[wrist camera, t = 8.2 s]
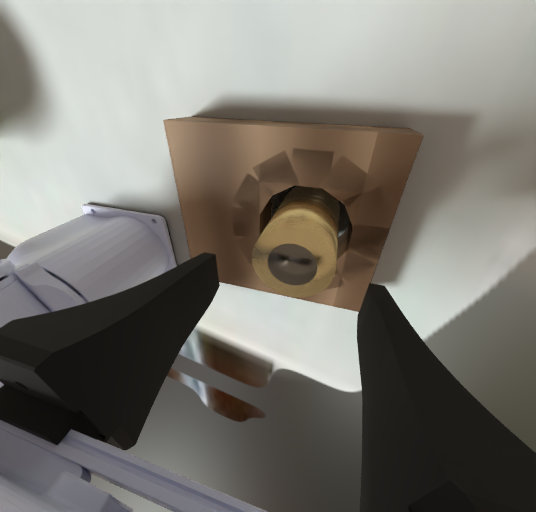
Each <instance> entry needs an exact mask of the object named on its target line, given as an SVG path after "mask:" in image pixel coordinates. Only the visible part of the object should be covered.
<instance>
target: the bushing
mask: <svg viewBox="0 0 536 512" xmlns="http://www.w3.org/2000/svg"><path fill="white" fill-rule="evenodd" d="M339 219H340V207H339V203H338V200H337V199H336V198H335V197H333V196H332V195H331V194H329V193H328V192H327V191H325V190H324V189H323V188H314V187H305V186H297V187H295V188H293V189H292V190H291V191H289V193H288V194H287V195H286V196H285V198H284V199H283V201H282V203H281V204H280V206H279V207H278V209H277V210H276V212H275V214H274V215H273V217H272V218H271V220H270V221H269V223H268V225H267V226H266V228H265V229H264V231H263V232H262V234H261V236H260V237H259V239H258V240H257V242H256V244H255V246H254V248H253V251H252V264H253V267H254V270H255V272H256V274H257V275H258V277H259V278H260V279H261V281H262V282H263V283H264V284H266V285H267V286H268V287H269V288H271V289H272V290H274V291H276V292H278V293H280V294H283V295H287V296H291V297H308V296H312V295H315V294H318V293H320V292H321V291H323V290H324V289H326V288H327V287H328V286H329V285H330V283H331V282H332V280H333V278H334V276H335V272H336V261H337V247H338V233H339Z"/></svg>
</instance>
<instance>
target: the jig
mask: <svg viewBox="0 0 536 512" xmlns="http://www.w3.org/2000/svg"><path fill="white" fill-rule="evenodd" d="M163 121H164V126H165V131H166V136H167V141H168V146H169V151H170V156H171V161H172V166H173V171H174V176H175V181H176V186H177V191H178V196H179V201H180V206H181V211H182V216H183V221H184V226H185V231H186V236H187V241H188V246H189V251H190V256H191V259H192V258H194V257H196V256H198V255H200V254H202V253H204V252H206V253H211V254H216V261H217V269H218V277H219V282H222V283H227V284H232V285H236V286H241V287H246V288H250V289H255V290H260V291H264V292H269V293H274V294H278V295H283V294H280V293H278V292H276V291H274V290H272V289H271V288H269V287H268V286H267V285H266V284H264V283H263V282H262V281H261V279H260V278H259V277H258V275H257V274H256V272H255V270H254V267H253V264H252V251H253V248H254V246H255V244H256V242H257V240H258V239H259V237H260V236H261V234H262V232H263V231H264V229H265V228H266V226H267V225H268V223H269V221H270V220H271V199H272V197H273V196H274V195H275V194H277V193H279V192H282V191H284V190H286V189H288V188H290V187H293V186H295V185H296V186H305V187H314V188H323V189H324V190H325V191H327V192H328V193H329V194H331V195H332V196H333V197H335V198H336V199H337V200H339V201H340V202H341V203H343V204H344V205H345V207H346V210H347V213H348V215H349V218H350V221H349V225H348V229H347V230H346V231H345V232H344V233H343V234H342V235H341V236H340V237H339V238H338V247H337V261H336V272H335V276H334V278H333V280H332V282H331V283H330V285H329V286H328V287H327V288H326V289H324V290H323V291H321V292H320V293H318V294H315V295H312V296H308V297H292V298H297V299H302V300H306V301H311V302H316V303H320V304H325V305H330V306H334V307H339V308H344V309H348V310H353V311H358V312H359V311H360V308H361V305H362V302H363V300H364V297H365V294H366V291H367V288H368V286H369V283H371V280H372V277H373V274H374V271H375V269H376V266H377V263H378V260H379V258H380V255H381V252H382V249H383V246H384V244H385V241H386V238H387V235H388V233H389V230H390V227H391V224H392V221H393V219H394V216H395V213H396V210H397V207H398V205H399V202H400V199H401V196H402V194H403V191H404V188H405V185H406V182H407V180H408V177H409V174H410V171H411V169H412V166H413V163H414V160H415V157H416V155H417V152H418V149H419V146H420V144H421V141H422V138H423V134H421V133H418V132H416V131H414V130H412V129H410V128H394V127H375V126H355V125H336V124H317V123H298V122H279V121H260V120H241V119H222V118H203V117H185V118H176V119H168V120H163ZM283 296H287V295H283ZM288 297H291V296H288Z"/></svg>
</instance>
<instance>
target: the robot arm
mask: <svg viewBox="0 0 536 512" xmlns="http://www.w3.org/2000/svg"><path fill="white" fill-rule="evenodd" d="M81 209H82V211H83V213H84V215H82V216H80V217H78V218H76V219H73V220H71V221H69V222H67V223H64V224H62V225H60V226H57V227H55V228H53V229H51V230H48V231H46V232H44V233H42V234H39V235H37V236H35V237H33V238H30V239H28V240H26V241H24V242H22V243H21V244H19V245H18V246H17V247H16V248H15V249H14V250H13V251H12V252H11V253H10V255H9V256H8V258H7V259H2V260H0V512H133V509H132V508H130V507H128V506H127V505H125V504H123V503H122V502H120V501H118V500H117V499H116V498H114V497H113V496H112V495H111V494H109V493H108V492H106V491H104V490H102V489H100V488H98V487H96V486H94V485H92V484H91V483H90V481H91V474H93V475H95V476H98V477H100V478H102V479H104V480H106V481H109V482H110V483H113V484H115V485H117V486H119V487H121V488H123V489H126V490H128V491H130V492H132V493H135V494H137V495H139V496H141V497H143V498H145V499H147V500H150V501H152V502H154V503H156V504H158V505H160V506H162V507H165V508H167V509H169V510H171V511H173V512H267V511H265V510H262V509H260V508H257V507H255V506H253V505H250V504H248V503H245V502H243V501H240V500H238V499H236V498H234V497H231V496H229V495H226V494H224V493H222V492H219V491H217V490H215V489H212V488H209V487H207V486H205V485H203V484H200V483H198V482H196V481H193V480H191V479H188V478H186V477H184V476H181V475H179V474H177V473H174V472H172V471H169V470H167V469H165V468H162V467H160V466H158V465H155V464H152V463H150V462H148V461H145V460H143V459H141V458H138V457H136V456H134V455H131V454H129V453H127V452H124V451H122V450H128V449H129V448H131V447H133V446H134V445H135V444H136V442H137V440H138V437H139V435H140V433H141V430H142V428H143V426H144V423H145V421H146V419H147V416H148V414H149V412H150V410H151V407H152V405H153V403H154V401H155V399H156V397H157V395H158V392H159V390H160V388H161V386H162V384H163V382H164V380H165V378H166V376H167V374H168V372H169V370H170V368H171V366H172V364H173V363H174V361H175V358H176V357H177V355H178V353H179V351H180V350H181V348H182V346H183V344H184V343H185V341H186V340H187V338H188V337H189V335H190V334H191V332H192V331H193V329H194V328H195V326H196V325H197V323H198V322H199V320H200V319H201V317H202V316H203V314H204V313H205V311H206V310H207V308H208V307H209V305H210V304H211V302H212V300H213V298H214V296H215V294H216V292H217V290H218V288H219V286H220V285H219V277H218V269H217V261H216V254H211V253H206V252H204V253H202V254H200V255H198V256H196V257H194V258H192V259H190V260H188V261H186V262H184V263H182V264H180V265H178V266H177V265H176V261H175V257H174V253H173V249H172V245H171V241H170V237H169V232H168V228H167V224H166V221H165V219H164V218H163V217H162V216H160V215H153V214H147V213H141V212H134V211H128V210H122V209H115V208H109V207H103V206H96V205H90V204H84V205H82V206H81ZM155 220H156V221H155ZM357 343H358V353H359V364H360V374H361V384H362V398H363V412H362V415H363V416H362V425H363V427H362V469H361V470H362V471H361V497H360V512H536V453H535V452H534V451H532V450H531V449H530V448H529V447H528V446H527V445H526V444H525V443H523V442H522V441H521V440H520V439H519V438H518V437H517V436H515V435H514V434H513V433H512V432H511V431H510V430H509V429H508V428H506V427H505V426H504V425H503V424H502V423H501V422H500V421H499V420H498V419H497V418H495V417H494V416H493V415H492V414H491V413H490V412H489V411H488V410H487V409H486V408H485V407H484V406H483V405H481V403H480V402H478V400H477V399H475V398H474V397H473V396H472V395H471V394H470V393H469V392H468V391H467V390H466V389H465V388H464V387H463V386H462V385H461V384H460V383H459V381H457V380H456V379H455V377H454V376H453V375H452V374H451V373H450V372H449V371H448V370H447V369H446V367H444V365H443V364H442V363H441V362H440V361H439V360H438V359H437V357H436V356H435V355H434V354H433V353H432V352H431V350H430V349H429V348H428V347H427V346H426V344H425V343H424V342H423V340H422V339H421V338H420V337H419V335H418V334H417V333H416V331H415V330H414V329H413V327H412V326H411V324H410V323H409V322H408V320H407V319H406V317H405V316H404V315H403V313H402V312H401V310H400V309H399V307H398V306H397V304H396V303H395V301H394V299H393V298H392V296H391V295H390V293H389V292H388V290H387V289H386V287H385V286H382V285H377V284H371V283H369V286H368V288H367V291H366V294H365V297H364V300H363V302H362V305H361V308H360V311H359V314H358V321H357ZM98 440H100V441H98ZM101 441H102V442H101ZM103 442H105V443H108V444H110V445H113V446H115V447H117V448H120V449H122V450H120V449H117V448H115V447H112V446H110V445H108V444H105V443H103ZM90 473H91V474H90Z"/></svg>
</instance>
